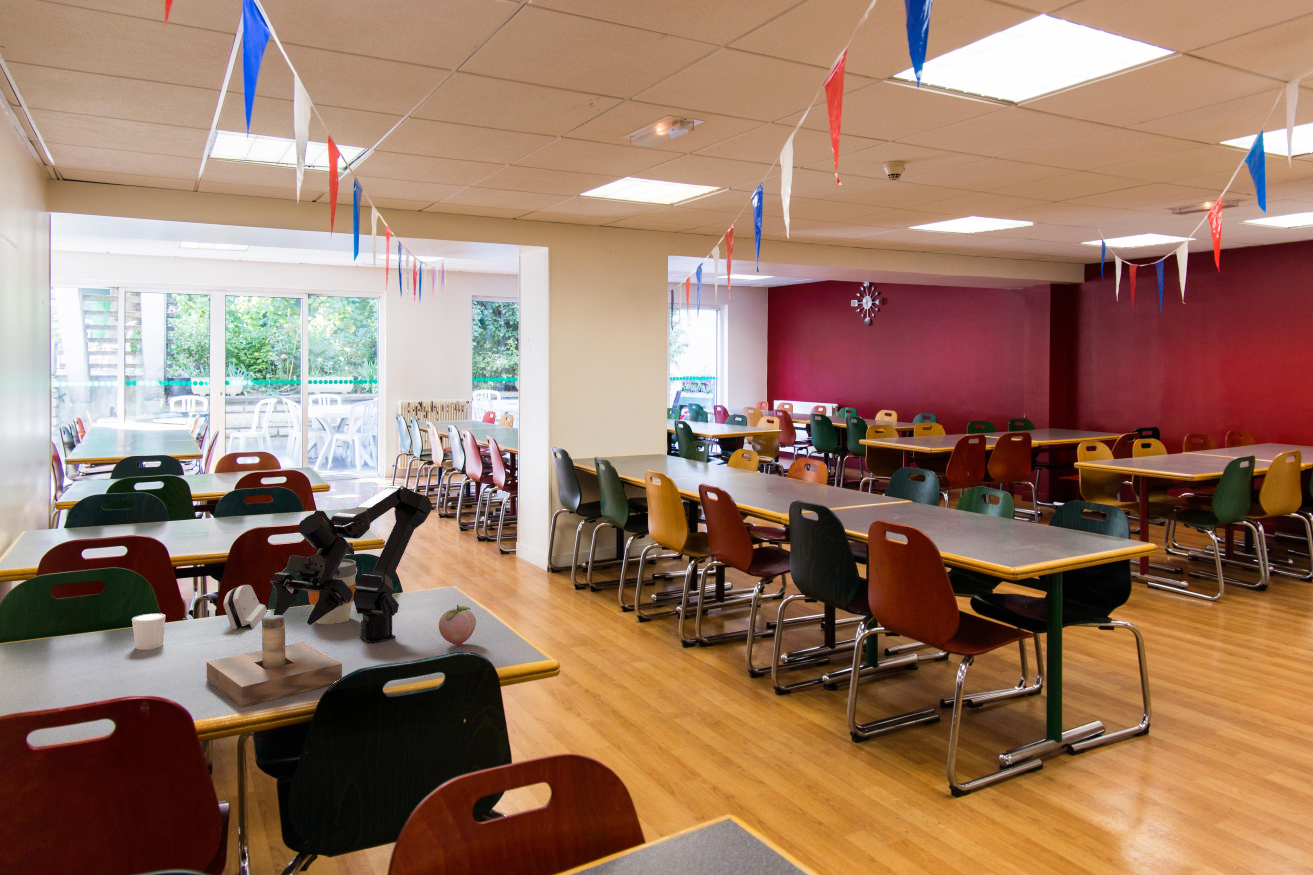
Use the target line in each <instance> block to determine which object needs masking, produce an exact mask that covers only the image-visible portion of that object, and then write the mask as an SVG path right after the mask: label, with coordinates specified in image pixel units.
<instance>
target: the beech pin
mask: <svg viewBox="0 0 1313 875" xmlns="http://www.w3.org/2000/svg"><path fill="white" fill-rule="evenodd" d="M261 639H262V641H261V642H262V643H261V648H262V658H263V669H270V668H274V667H279V666H283V665H286V655H285V646H286V616H284V615H274V614H273V615H267V616H263V618H262V619H261Z"/></svg>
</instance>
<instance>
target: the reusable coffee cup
mask: <svg viewBox="0 0 1313 875" xmlns="http://www.w3.org/2000/svg"><path fill="white" fill-rule="evenodd" d="M338 570H339V571H340V574H339V575H338V576H335V575H334V576H333V578H332V579H338V580H343V581H344V582H345V583H346V585H347V586H348V587H349V588H350V589H351V590H352V592H353V595H354V592H355V590H356V589H354V588H355V587H356V586H357V583H356V575H357V573H358V570H357V561H356V560H353V559H350V558H349V559H348V558H344V559H343V561H342V562H341V564H340V566H339V568H338ZM307 594H308V602H309V604H310V605H311V612H312V611H313V609H314V607H315V605H316V603H317V601H318V599H319V592H312V591H307ZM353 602H354V600H353V596H352V598H351V600H350V602H349V603H348V604H347V603H343V605H342V606H338V607H337V608H335V609H333V610H332V611H330V612H329V613H327V614H326V615H324V616H323V617H321V618H320V619H319V620H317V621H316V622H314V623H315V624H317V623H318V625H336V624H335V623H338V624H343V623H346V622H348V621H350V620H349V619H351V613H352V605H353ZM345 621H346V622H345ZM342 622H343V623H342Z"/></svg>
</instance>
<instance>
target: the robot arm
mask: <svg viewBox="0 0 1313 875" xmlns="http://www.w3.org/2000/svg"><path fill="white" fill-rule="evenodd" d="M393 508H394V512H393V513H394V517H395V523H394V525H393V528H392V529H391V531H390V534H389V536H388V538H387V540H386V542H385V544H384V547H383V549H382V551H381V553H380V555H379V557H378V560H377V562H376V563H375V566H374V568H373V570H372V571H371V572H370V573H369V574H361V575H360V577H359V578H358V579H359V580H358V581H357V583H356V587H355V588H354V589H355V592H354V595H353V592H352V590H351V589H350V588H349V587H348V586H347V585H346V583H345V582H344V581H343V580H338V579H332V578H333V576H334V575H335V576H338V575H339V574H340V571H339V570H338V568H339V566H340V564H341V562H342V561H343V559H345V557H346V555H348V556H349V555H351V556H353V555H355V549H354V547H353V544H354V543H353V542H348V541H347V540H346V539H357V540H358V539H360V538H362V537H363V536H365V534H366V533H367V532H368V531H369V530H370V527H371V523H373V522H374V521H375V520H377V519H379V517H382V515H384V514H386V513H387V512H388V511H390V510H391V509H393ZM432 508H433V504H432V501H431V500H430V498H429V497H428V496H427V495H422V494H421V493H417V492H415V491H413V490H410V489H409V488H407V487H405V486H403V485H388V486H386V487H385V488H384V490H382V491H380V492H379V493H377V494H376V495H375V496H373V497H371V498H369V499H368V500H366V501H364V502H363V503H362V504H360V505H359V506H357V507H353V508H347V509H344V510H341V511H338V512H336V513H334V514H333V515H332V516H331V518H329V516H328V515H327V513H326V512H325V511H324V510H319V509H317V510H316V509H315V510H314V513H313V514H309V515H307V516H306V517H305V518H303V519H302V520H300V522H299V524H298V527H297V528H298V529H297V530H298V532H299V534H300V535H301V536H302V537H303V538H304V539H305V540H306V542H308V543H309V544H310V545H311V546H312V547H313V548H314V549H318V550H317V552H316V554H312V555H310V556H302V555H293V554H291V555H289V558H288V561H287V564H286V568H285V570H287V571H292V572H295V573H296V574H295V575H296V576H297V577H298V578H300V579H301V580H298V579H297V578H295V576H293V574H291V573H286V572H280V571H279V572H275V573H273V575H272V577H271V578H270V580H269V582H270V584H271V585H272V587H273V588H274V589H275V590H276V591H275V592H276V601H275V606H274V609H273V610H274V612H273V615H282V616H284V615H283V614H285V613H286V612H287V610H288V609H289V608H290V607H291V606H292V605H293V603H295V601H296V600H297V597H296V596H297V595H300V593H301V591H305V592H306V591H307V592H308V591H312V592H319V599H318V601H317V603H316V605H315V607H314V609H313V611H312V610H311V612H310V615H309V617H308V619H307V621H306V623H307V625H309V626H312V625H313V624H314V623H315V622H316V621H317V620H319V619H320V618H321V617H323V616H324V615H326V614H327V613H329V612H330V611H332V610H333V609H335V608H337V607H338V606H342V605H343V603H347V604H348V603H349V602H350V600H351V598H352V596H353V604H354V606H355V610H356V613H357V614H359V615H362V620H361V621H360V635H359V638H360V639H362V640H364V641H366V642H368V643H370V644H374V643H378V642H382V641H388V640H393V639H395V638H396V636H397V635H395V634H393V617H394V616H395V614H398V612H399V607H400V604H399V603H398V601H397V600H396V599H395V598H394V597H393V594H394V585H393V578H394V575H395V573H396V571H397V568H398V567H399V565H400V562H401V560H402V558H403V555H404V553H405V551H406V548H407V547H408V544H409V542H410V540H411V538H412V535H413V533H414V531H415V530H416V529H417V528H419V527H420V526H421V525H422V524H424V523H425V522H426V520H427V518H428V517H429V516H430V513H431V511H432Z"/></svg>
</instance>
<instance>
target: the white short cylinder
mask: <svg viewBox="0 0 1313 875" xmlns="http://www.w3.org/2000/svg"><path fill="white" fill-rule="evenodd" d="M131 622H132V624H131V625H132V631H133V639H134V644H135V649H136V650H142V651H143V650H147V651H148V650H154V649H157V648H161V647H163V646H164V640H165V638H164V637H165V629H166V628H165V625H166V614H164V613H157V612H156V613H145V614H144V613H143V614H139V615H136V616H133V617H132V618H131Z"/></svg>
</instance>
